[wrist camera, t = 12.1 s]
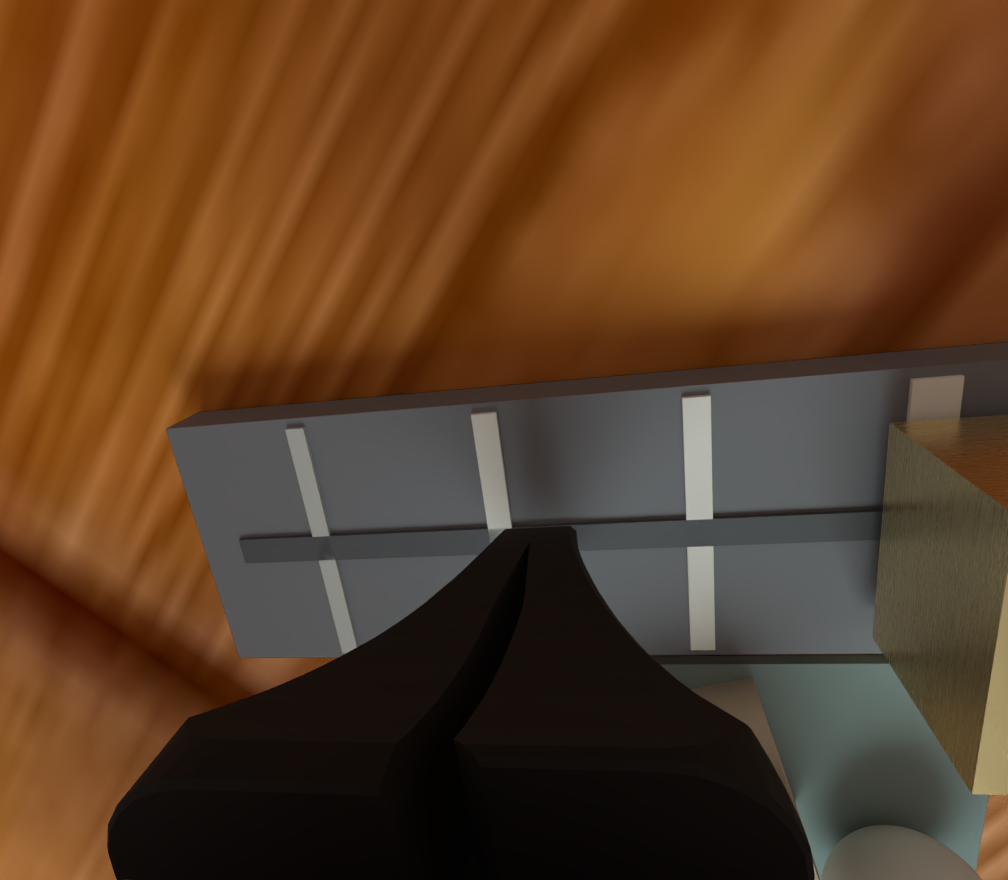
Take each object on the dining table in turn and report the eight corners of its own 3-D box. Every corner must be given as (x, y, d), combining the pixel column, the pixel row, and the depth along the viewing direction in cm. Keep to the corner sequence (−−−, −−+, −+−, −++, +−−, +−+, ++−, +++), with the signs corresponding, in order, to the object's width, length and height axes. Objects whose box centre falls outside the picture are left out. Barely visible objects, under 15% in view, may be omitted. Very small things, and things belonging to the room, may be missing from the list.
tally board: (1090, 614, 13) (1139, 655, 12) (264, 627, 16) (237, 660, 15) (1151, 329, 11) (1218, 344, 10) (199, 412, 14) (162, 430, 13)
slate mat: (961, 906, 16) (967, 918, 16) (445, 875, 19) (442, 885, 18) (1002, 653, 14) (1011, 663, 13) (396, 658, 16) (392, 665, 16)
